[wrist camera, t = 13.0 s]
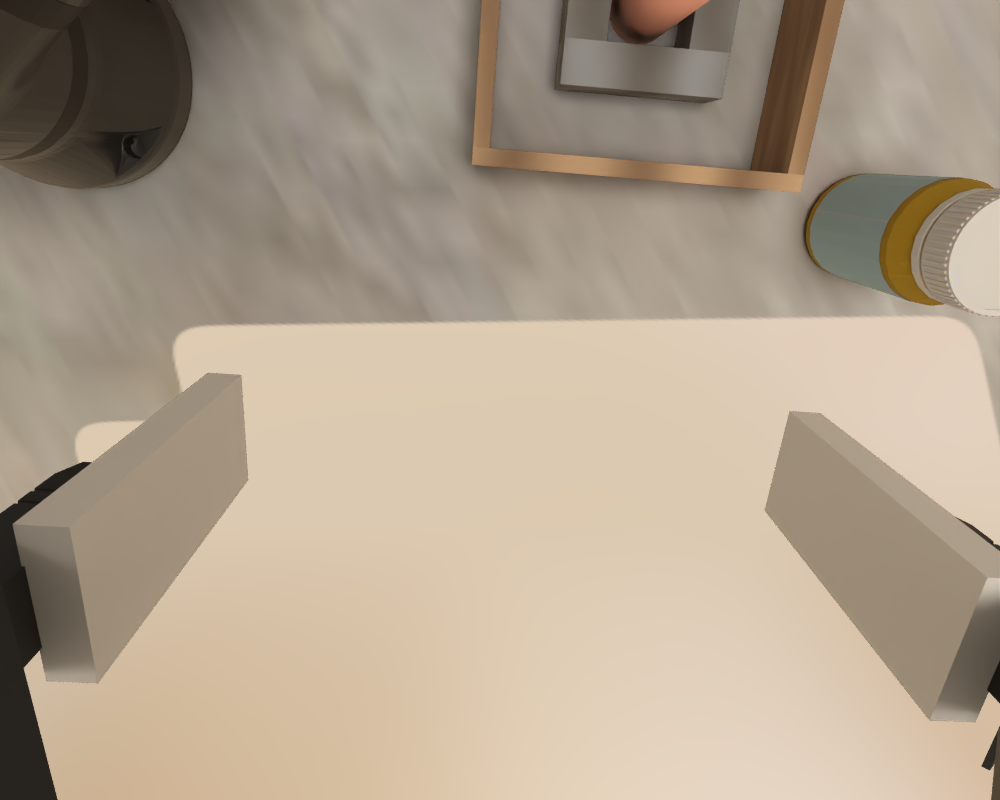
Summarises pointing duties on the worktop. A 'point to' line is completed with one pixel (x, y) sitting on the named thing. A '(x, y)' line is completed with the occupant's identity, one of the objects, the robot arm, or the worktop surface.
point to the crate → (678, 87)
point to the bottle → (912, 238)
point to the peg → (649, 17)
